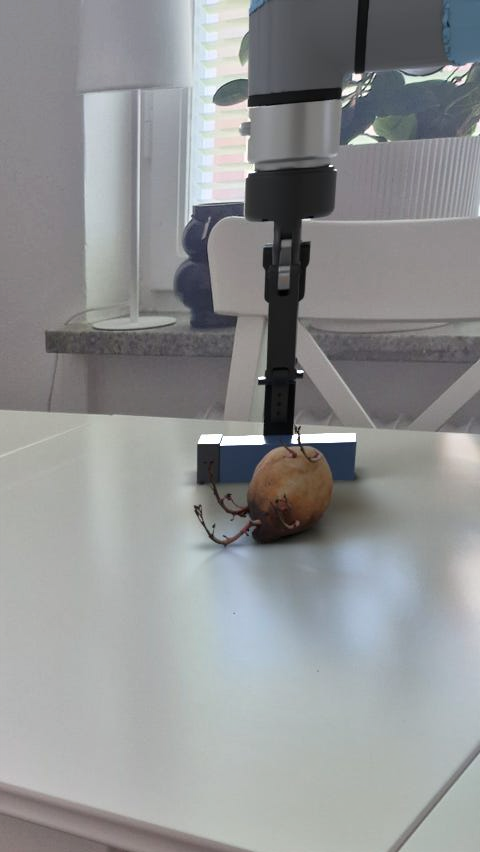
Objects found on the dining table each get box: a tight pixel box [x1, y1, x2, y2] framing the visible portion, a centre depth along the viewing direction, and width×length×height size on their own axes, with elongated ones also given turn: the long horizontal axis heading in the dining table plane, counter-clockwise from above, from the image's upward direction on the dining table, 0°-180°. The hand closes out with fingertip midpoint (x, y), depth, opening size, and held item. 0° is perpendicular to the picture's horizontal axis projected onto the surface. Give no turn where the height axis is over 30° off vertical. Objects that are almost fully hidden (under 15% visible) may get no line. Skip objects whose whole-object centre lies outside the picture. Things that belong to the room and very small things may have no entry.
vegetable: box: [192, 423, 334, 548], centre depth 93 cm, size 16×11×10 cm
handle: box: [196, 432, 358, 485], centre depth 107 cm, size 14×4×4 cm, turn 76°
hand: (277, 456), depth 109 cm, fingers closed
